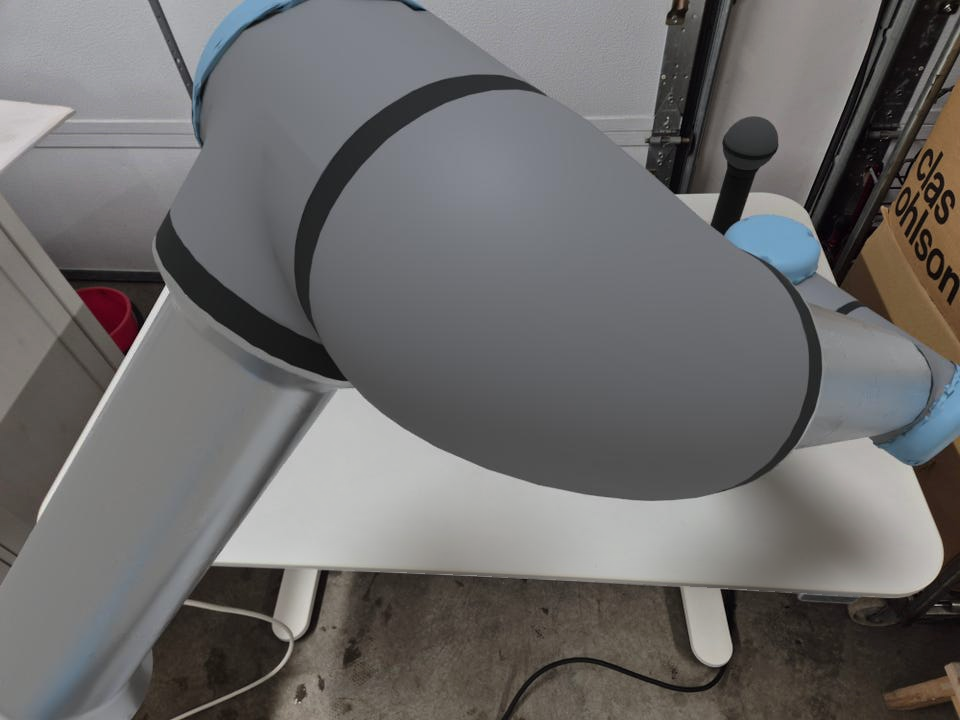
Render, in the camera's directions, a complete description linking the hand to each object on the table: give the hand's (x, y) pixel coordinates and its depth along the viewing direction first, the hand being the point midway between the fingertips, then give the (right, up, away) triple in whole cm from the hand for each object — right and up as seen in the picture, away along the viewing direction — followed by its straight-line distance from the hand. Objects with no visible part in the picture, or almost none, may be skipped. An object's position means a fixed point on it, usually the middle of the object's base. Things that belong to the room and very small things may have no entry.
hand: (478, 229), depth 76 cm
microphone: (+35, 0, +14) cm, 38 cm away
